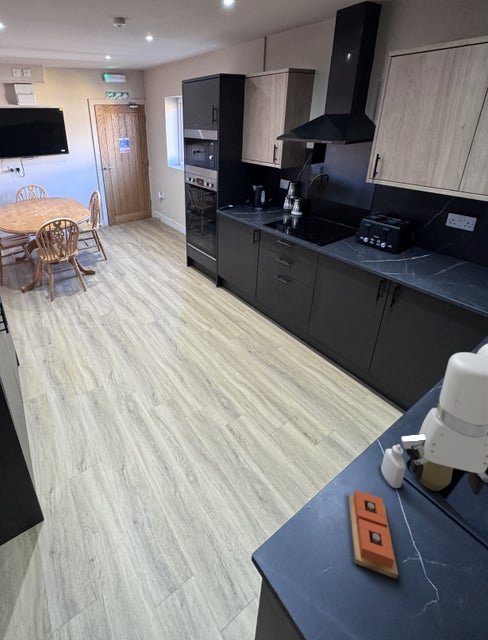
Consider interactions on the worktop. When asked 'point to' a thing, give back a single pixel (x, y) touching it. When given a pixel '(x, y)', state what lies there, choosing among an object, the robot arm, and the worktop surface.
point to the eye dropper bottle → (393, 466)
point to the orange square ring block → (373, 551)
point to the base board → (375, 539)
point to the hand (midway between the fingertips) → (443, 480)
